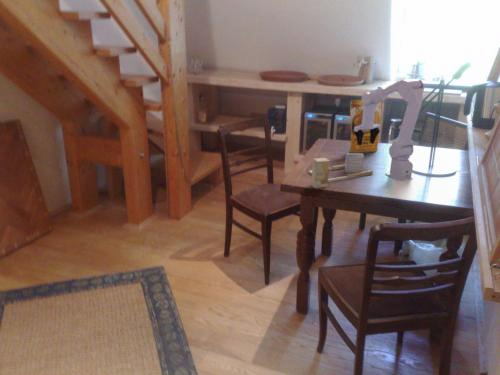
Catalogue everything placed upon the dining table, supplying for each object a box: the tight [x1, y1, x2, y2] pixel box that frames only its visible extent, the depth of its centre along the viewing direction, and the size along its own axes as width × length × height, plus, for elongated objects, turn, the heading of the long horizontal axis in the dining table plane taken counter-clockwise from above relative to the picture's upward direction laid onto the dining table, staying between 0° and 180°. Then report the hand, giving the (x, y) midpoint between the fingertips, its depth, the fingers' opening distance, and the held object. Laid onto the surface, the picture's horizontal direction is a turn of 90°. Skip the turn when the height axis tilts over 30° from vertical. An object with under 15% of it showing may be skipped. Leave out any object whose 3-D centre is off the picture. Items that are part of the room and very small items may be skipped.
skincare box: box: [310, 157, 330, 189], centre depth 190 cm, size 6×4×12 cm
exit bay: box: [308, 166, 348, 183], centre depth 204 cm, size 14×12×1 cm
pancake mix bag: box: [348, 99, 383, 154], centre depth 235 cm, size 7×19×28 cm, turn 99°
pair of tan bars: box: [331, 163, 374, 179], centre depth 209 cm, size 13×14×2 cm
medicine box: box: [344, 152, 365, 174], centre depth 208 cm, size 8×4×9 cm, turn 84°
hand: (365, 144), depth 219 cm, fingers open, 7 cm apart
